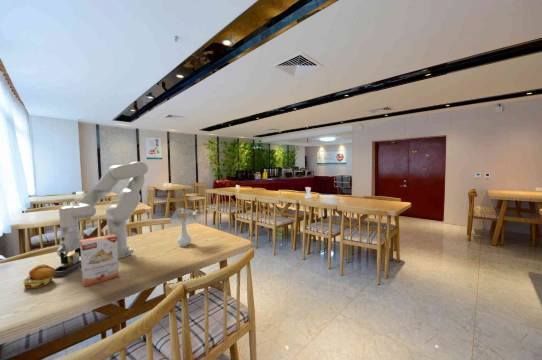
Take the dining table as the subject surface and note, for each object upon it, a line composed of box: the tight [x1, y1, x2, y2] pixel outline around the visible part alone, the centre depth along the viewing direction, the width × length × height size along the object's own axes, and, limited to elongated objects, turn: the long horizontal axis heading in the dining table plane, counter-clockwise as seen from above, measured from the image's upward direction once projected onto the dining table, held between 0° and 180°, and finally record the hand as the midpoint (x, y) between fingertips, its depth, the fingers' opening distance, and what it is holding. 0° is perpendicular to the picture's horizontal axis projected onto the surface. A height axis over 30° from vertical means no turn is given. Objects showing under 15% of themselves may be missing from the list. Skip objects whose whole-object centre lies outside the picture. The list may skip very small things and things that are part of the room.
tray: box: [53, 259, 82, 278], centre depth 127 cm, size 7×14×2 cm, turn 4°
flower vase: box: [170, 208, 199, 247], centre depth 165 cm, size 13×18×25 cm
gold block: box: [64, 252, 80, 266], centre depth 130 cm, size 5×4×7 cm
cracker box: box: [80, 234, 120, 287], centre depth 116 cm, size 14×6×21 cm, turn 135°
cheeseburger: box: [23, 264, 56, 290], centre depth 112 cm, size 10×11×10 cm
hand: (71, 260), depth 130 cm, fingers open, 9 cm apart
